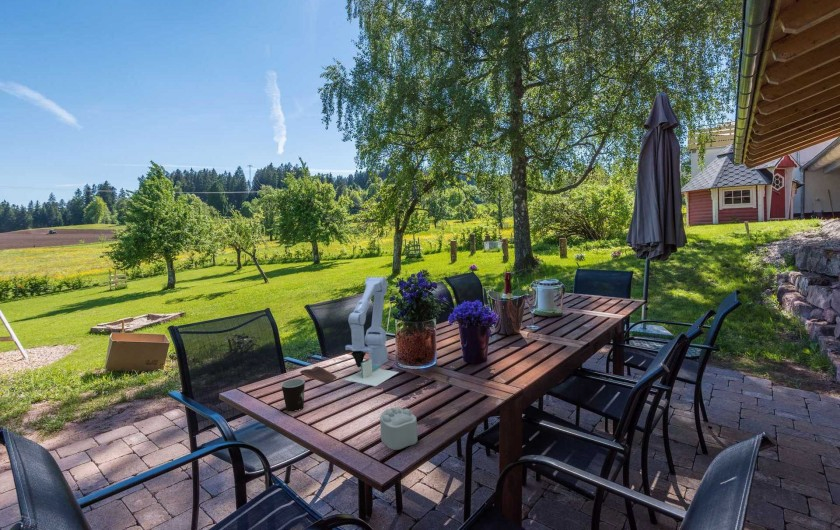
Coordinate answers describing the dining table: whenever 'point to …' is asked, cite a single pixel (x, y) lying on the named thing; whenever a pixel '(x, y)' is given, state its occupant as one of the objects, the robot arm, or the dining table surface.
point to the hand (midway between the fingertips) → (359, 366)
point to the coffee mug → (293, 394)
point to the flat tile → (375, 368)
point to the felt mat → (372, 377)
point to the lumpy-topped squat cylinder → (398, 428)
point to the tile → (366, 368)
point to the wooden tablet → (319, 374)
